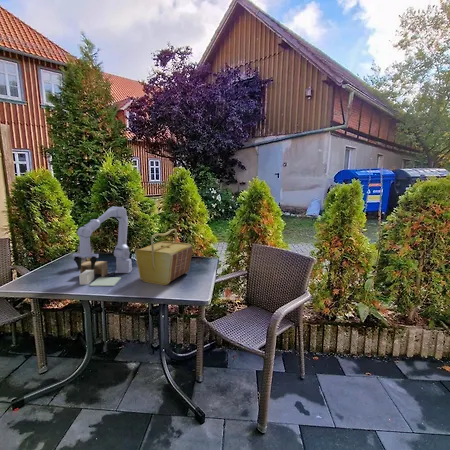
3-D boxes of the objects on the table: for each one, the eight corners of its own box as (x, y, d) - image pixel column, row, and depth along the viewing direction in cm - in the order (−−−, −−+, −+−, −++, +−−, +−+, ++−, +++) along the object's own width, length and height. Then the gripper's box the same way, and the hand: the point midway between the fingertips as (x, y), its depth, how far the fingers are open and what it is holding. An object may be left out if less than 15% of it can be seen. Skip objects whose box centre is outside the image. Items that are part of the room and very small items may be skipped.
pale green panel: (121, 278, 185) (121, 277, 184) (113, 286, 171) (113, 285, 171) (98, 278, 184) (98, 277, 184) (89, 286, 170) (89, 285, 170)
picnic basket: (171, 288, 170) (170, 237, 165) (134, 282, 178) (132, 233, 174) (193, 273, 197) (193, 229, 192) (160, 268, 205) (159, 226, 201)
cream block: (94, 279, 183) (93, 269, 182) (87, 284, 173) (87, 274, 172) (87, 279, 183) (86, 269, 182) (79, 284, 173) (79, 274, 172)
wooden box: (107, 273, 193) (107, 261, 192) (103, 277, 185) (102, 264, 184) (86, 273, 193) (85, 261, 191) (80, 277, 185) (79, 264, 183)
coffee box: (86, 269, 202) (85, 246, 200) (78, 268, 203) (76, 245, 201) (94, 265, 211) (93, 243, 209) (87, 264, 212) (85, 243, 210)
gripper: (69, 248, 171) (70, 271, 173) (94, 248, 171) (95, 271, 173) (75, 245, 177) (76, 267, 180) (99, 246, 178) (100, 267, 180)
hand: (86, 269), depth 177 cm, fingers open, 7 cm apart
